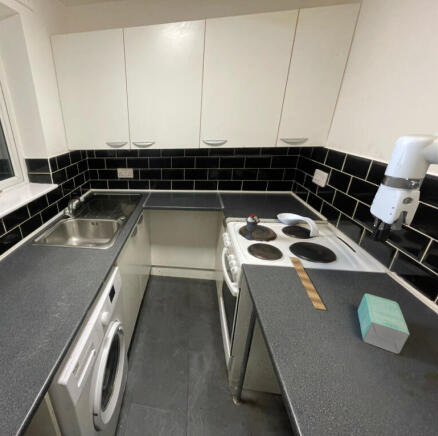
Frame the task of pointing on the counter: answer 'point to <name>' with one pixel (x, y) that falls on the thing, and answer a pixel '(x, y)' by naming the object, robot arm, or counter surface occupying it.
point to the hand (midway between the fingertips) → (377, 240)
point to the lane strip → (307, 284)
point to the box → (382, 323)
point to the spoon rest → (294, 219)
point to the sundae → (251, 225)
